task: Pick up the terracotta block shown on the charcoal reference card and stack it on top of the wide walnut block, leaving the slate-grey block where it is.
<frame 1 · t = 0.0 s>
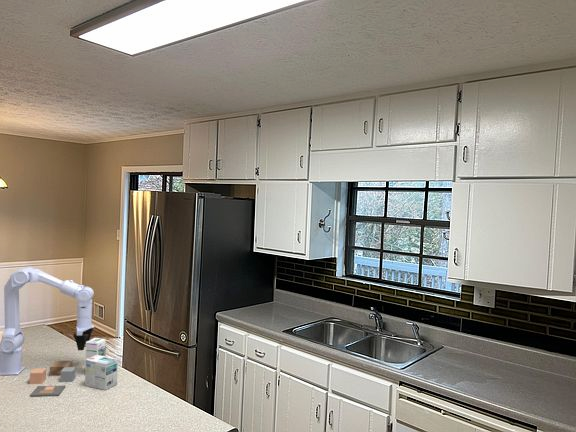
hand: (83, 347, 190), 10 cm above the counter, tool pointing down, fingers open, 7 cm apart
light bulb box: (100, 385, 177), on the counter
terracotta block: (37, 381, 177), on the counter
syrup box: (95, 374, 188), on the counter
reference card: (48, 391, 169), on the counter
slate-grey block: (68, 380, 180), on the counter
walnut block: (61, 373, 187), on the counter
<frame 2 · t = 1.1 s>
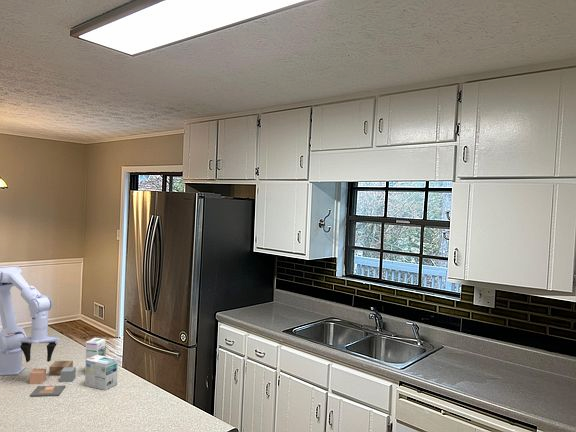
hand: (38, 361, 177), 8 cm above the counter, tool pointing down, fingers open, 7 cm apart
nothing on the counter moved.
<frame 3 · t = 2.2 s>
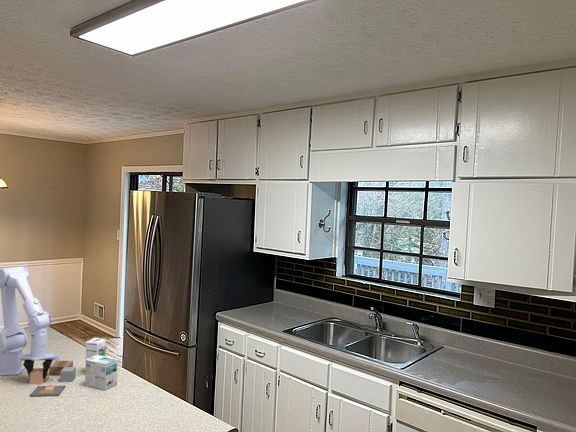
hand: (38, 378, 177), 1 cm above the counter, tool pointing down, fingers closed on terracotta block, 4 cm apart
terracotta block: (37, 381, 177), on the counter, touching gripper
everything else where it was.
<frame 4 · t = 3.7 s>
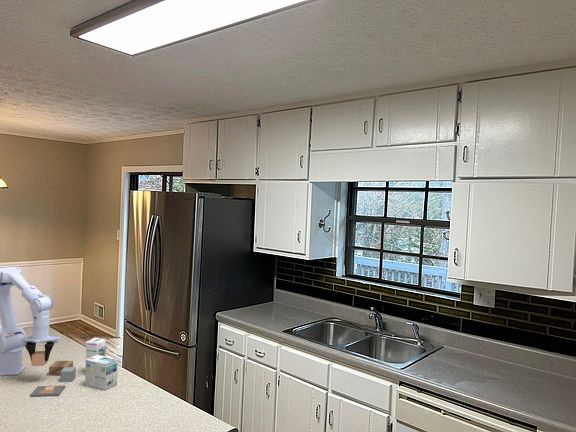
hand: (39, 360, 178), 8 cm above the counter, tool pointing down, fingers closed on terracotta block, 4 cm apart
terracotta block: (39, 363, 178), point 7 cm above the counter, touching gripper
everything else where it was.
when the fingers open (6 cm above the counter, at t = 5.1 s): terracotta block drops 1 cm, resting on walnut block.
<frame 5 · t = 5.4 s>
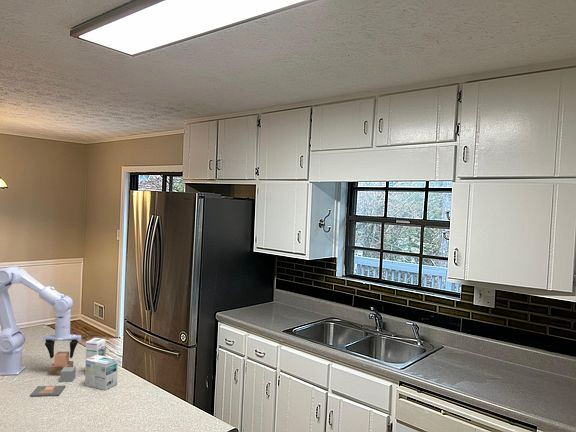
hand: (61, 357, 187), 6 cm above the counter, tool pointing down, fingers open, 7 cm apart
terracotta block: (61, 363, 187), point 4 cm above the counter, touching walnut block
walnut block: (61, 373, 187), on the counter, touching terracotta block
everything else where it was.
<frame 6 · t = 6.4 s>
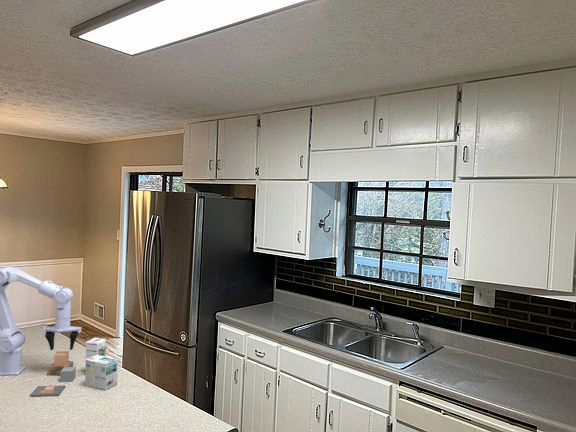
hand: (61, 349, 187), 10 cm above the counter, tool pointing down, fingers open, 7 cm apart
nothing on the counter moved.
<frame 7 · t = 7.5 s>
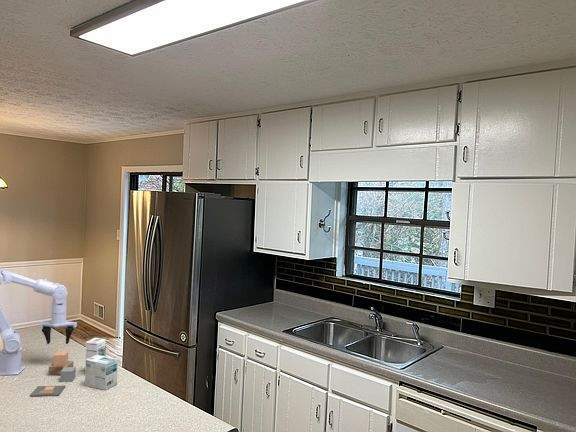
hand: (58, 343, 194), 10 cm above the counter, tool pointing down, fingers open, 7 cm apart
nothing on the counter moved.
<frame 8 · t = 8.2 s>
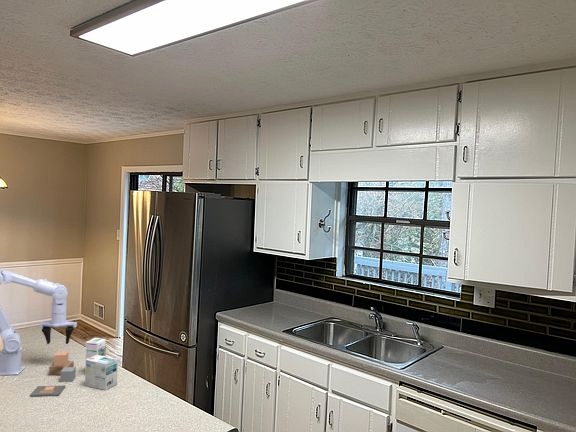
hand: (58, 343, 194), 10 cm above the counter, tool pointing down, fingers open, 7 cm apart
terracotta block: (61, 363, 187), point 4 cm above the counter
walnut block: (61, 373, 187), on the counter
everything else where it was.
at the end: terracotta block 0.3 cm off-centre on the walnut block, point 4.0 cm above the walnut block's base; terracotta block tilted 0°; slate-grey block moved 0.1 cm from its start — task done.
